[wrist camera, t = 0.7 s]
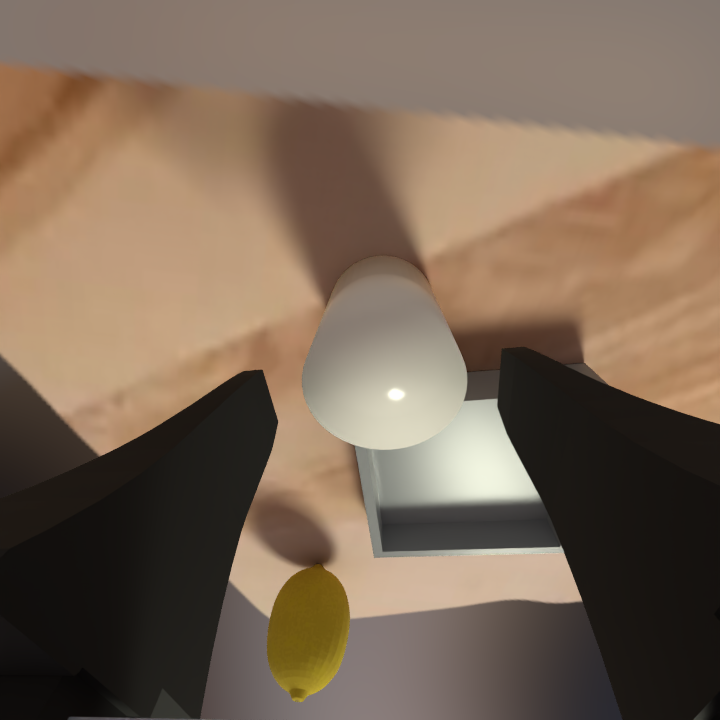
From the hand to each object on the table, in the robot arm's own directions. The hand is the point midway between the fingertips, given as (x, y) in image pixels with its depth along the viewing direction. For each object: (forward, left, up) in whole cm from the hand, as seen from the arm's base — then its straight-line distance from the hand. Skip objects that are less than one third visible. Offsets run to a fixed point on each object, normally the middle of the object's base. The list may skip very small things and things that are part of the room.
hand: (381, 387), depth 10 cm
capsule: (0, 0, -7) cm, 7 cm away
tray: (-4, +10, -7) cm, 13 cm away
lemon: (+7, +21, -7) cm, 23 cm away
